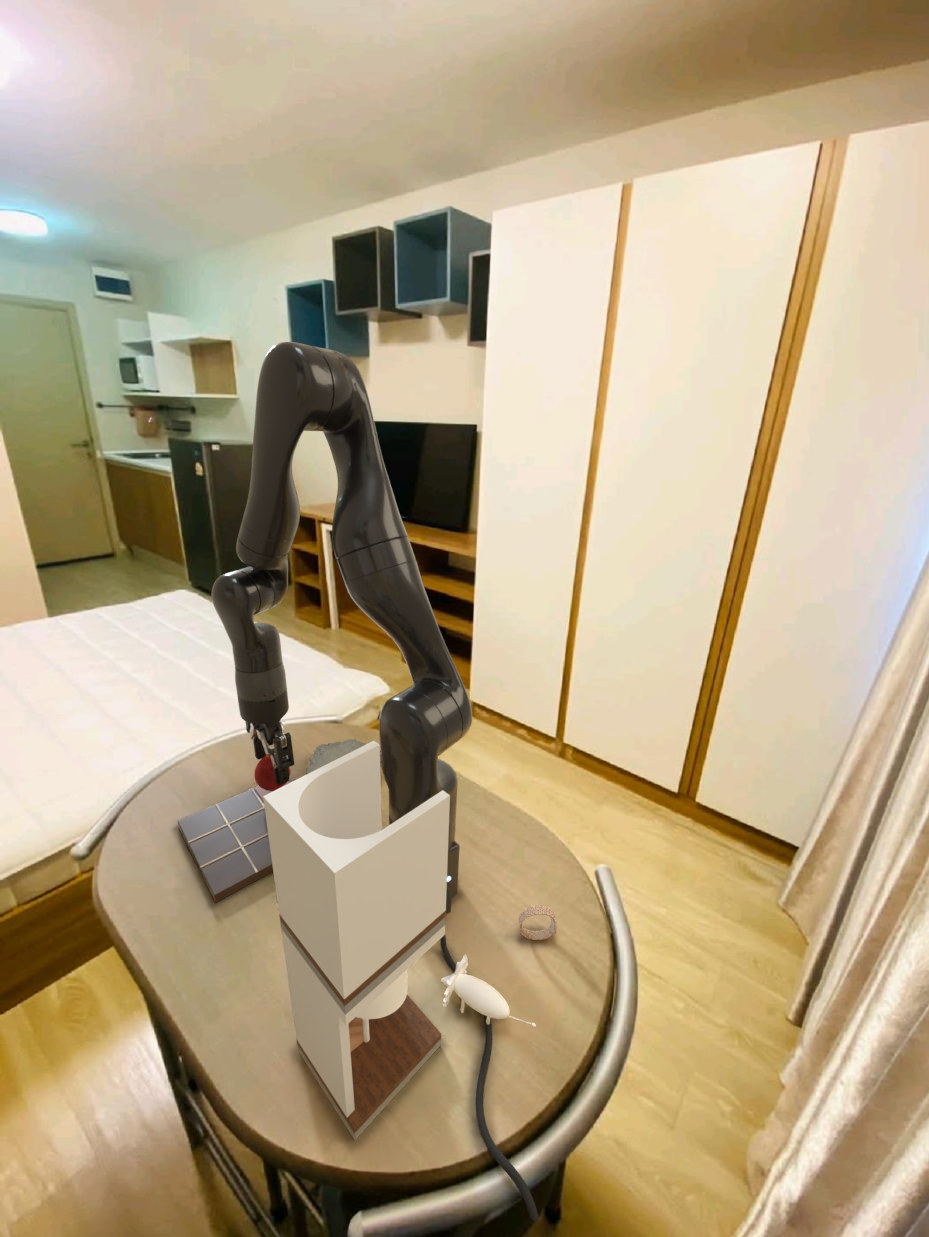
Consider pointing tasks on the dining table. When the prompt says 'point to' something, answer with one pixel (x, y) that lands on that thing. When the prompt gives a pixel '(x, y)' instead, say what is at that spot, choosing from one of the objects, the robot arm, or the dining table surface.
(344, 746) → the rock
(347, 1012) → the white wooden tower stand
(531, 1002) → the dining table surface
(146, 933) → the dining table surface
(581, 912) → the dining table surface
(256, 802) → the grid board
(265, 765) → the onion
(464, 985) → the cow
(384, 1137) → the dining table surface
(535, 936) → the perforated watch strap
